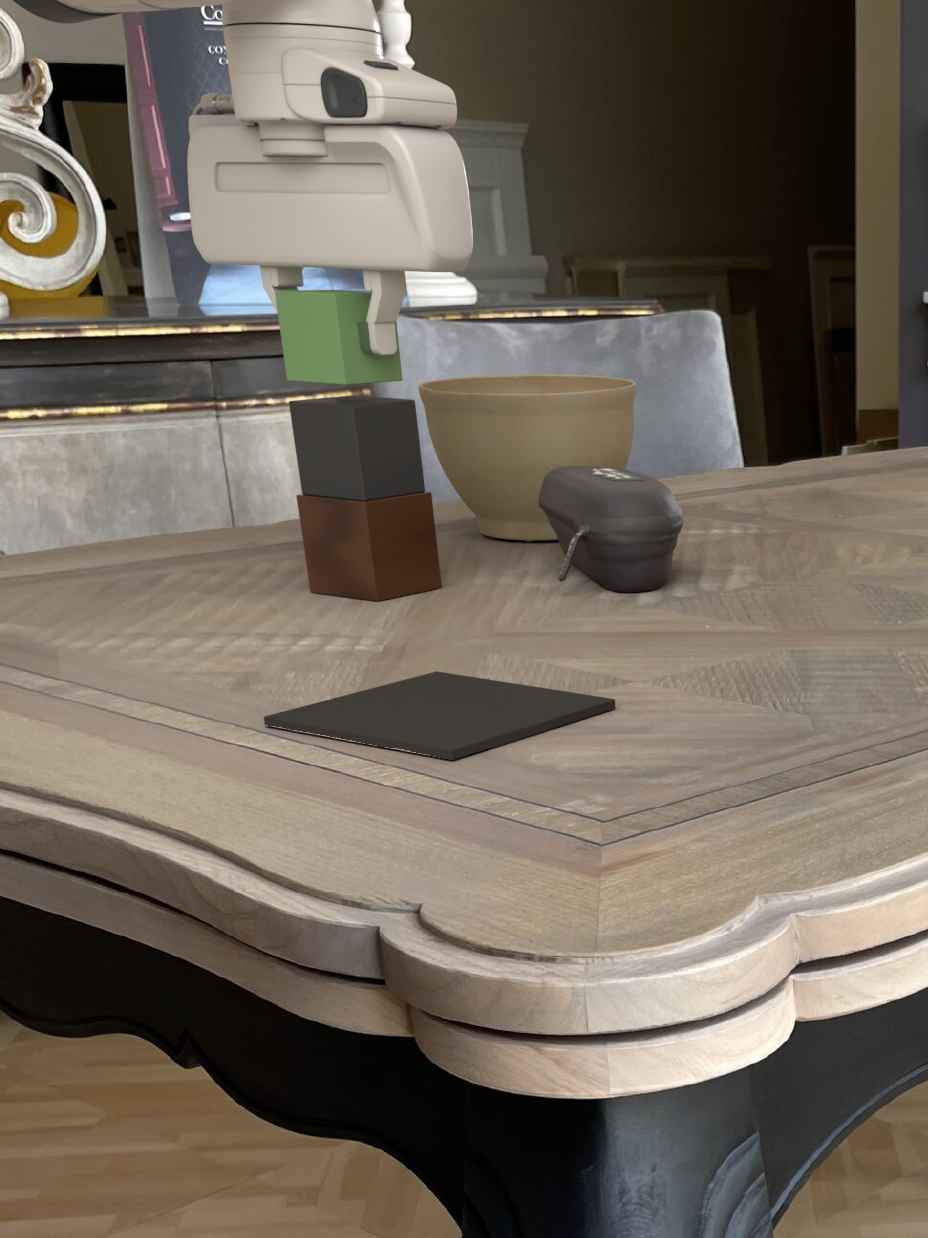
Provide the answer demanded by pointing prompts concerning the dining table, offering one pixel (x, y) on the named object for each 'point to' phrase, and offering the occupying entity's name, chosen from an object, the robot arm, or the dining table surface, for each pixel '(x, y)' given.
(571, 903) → the dining table surface
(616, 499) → the glasses case
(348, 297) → the green block
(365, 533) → the walnut block
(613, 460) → the planter bowl
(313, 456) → the charcoal block
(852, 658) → the dining table surface
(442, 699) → the coaster
